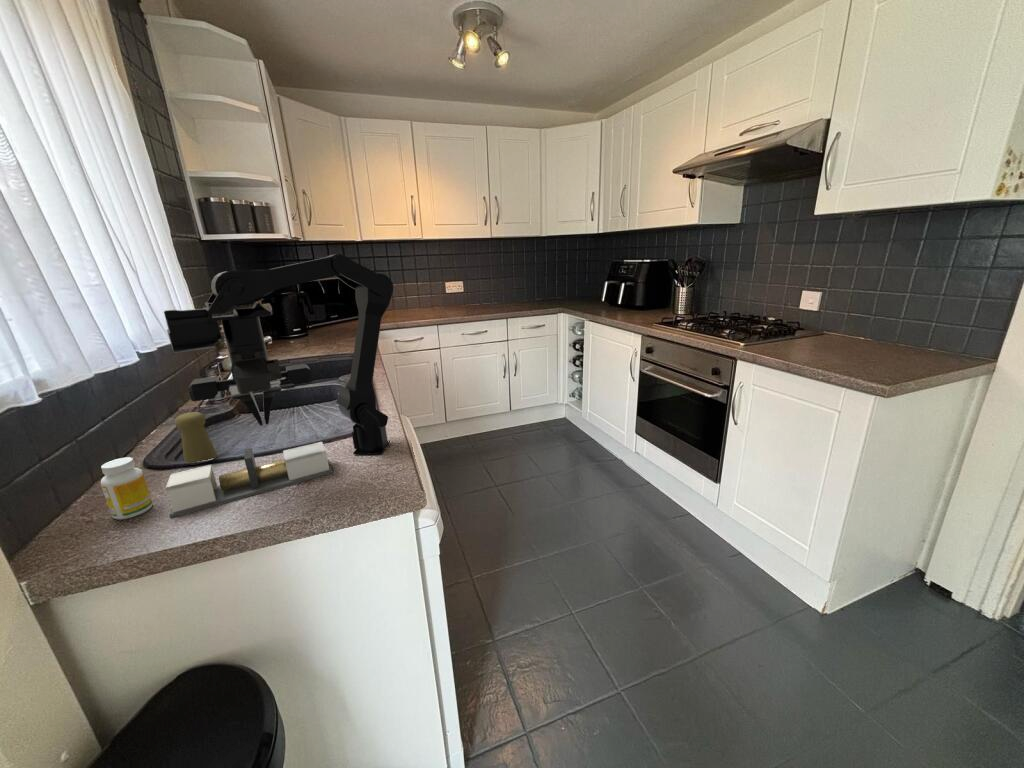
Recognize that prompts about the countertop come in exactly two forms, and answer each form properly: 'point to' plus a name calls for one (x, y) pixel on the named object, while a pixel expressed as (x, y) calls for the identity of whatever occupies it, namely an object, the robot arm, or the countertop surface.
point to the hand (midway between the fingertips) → (264, 424)
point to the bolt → (252, 473)
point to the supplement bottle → (125, 488)
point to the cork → (194, 437)
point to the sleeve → (306, 460)
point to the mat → (249, 491)
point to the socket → (191, 488)
